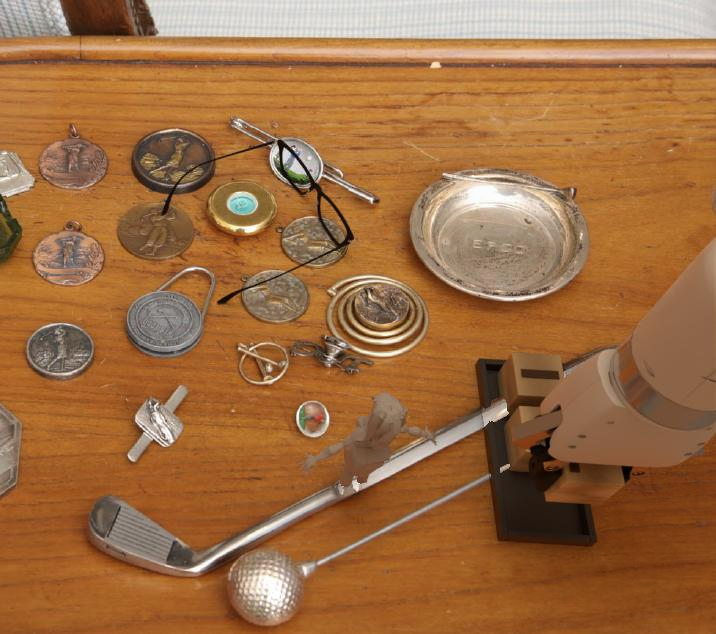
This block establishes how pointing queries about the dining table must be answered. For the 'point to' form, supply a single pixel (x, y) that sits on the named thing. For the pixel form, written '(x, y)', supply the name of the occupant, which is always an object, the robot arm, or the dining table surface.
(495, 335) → the dining table surface
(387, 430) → the human figurine
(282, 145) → the eyeglasses
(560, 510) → the letter tray
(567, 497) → the wooden letter block
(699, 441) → the robot arm
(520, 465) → the wooden block with dot
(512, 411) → the letter I
